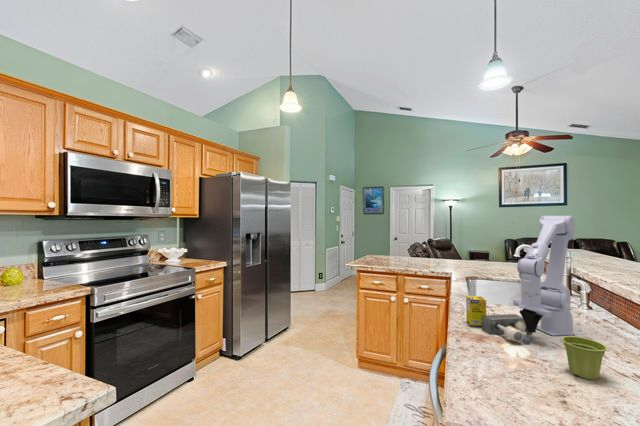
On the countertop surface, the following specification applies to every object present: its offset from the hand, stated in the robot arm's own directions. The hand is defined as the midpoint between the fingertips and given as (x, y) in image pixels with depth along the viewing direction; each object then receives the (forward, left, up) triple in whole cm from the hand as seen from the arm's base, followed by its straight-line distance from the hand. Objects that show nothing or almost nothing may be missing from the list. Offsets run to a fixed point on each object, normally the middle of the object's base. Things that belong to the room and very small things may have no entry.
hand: (531, 331), depth 106 cm
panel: (+4, -9, -3) cm, 10 cm away
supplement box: (+10, -16, -3) cm, 19 cm away
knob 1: (+8, -2, -2) cm, 8 cm away
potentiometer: (+4, +2, -3) cm, 5 cm away
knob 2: (0, -6, -2) cm, 7 cm away
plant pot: (+4, +23, -3) cm, 23 cm away
